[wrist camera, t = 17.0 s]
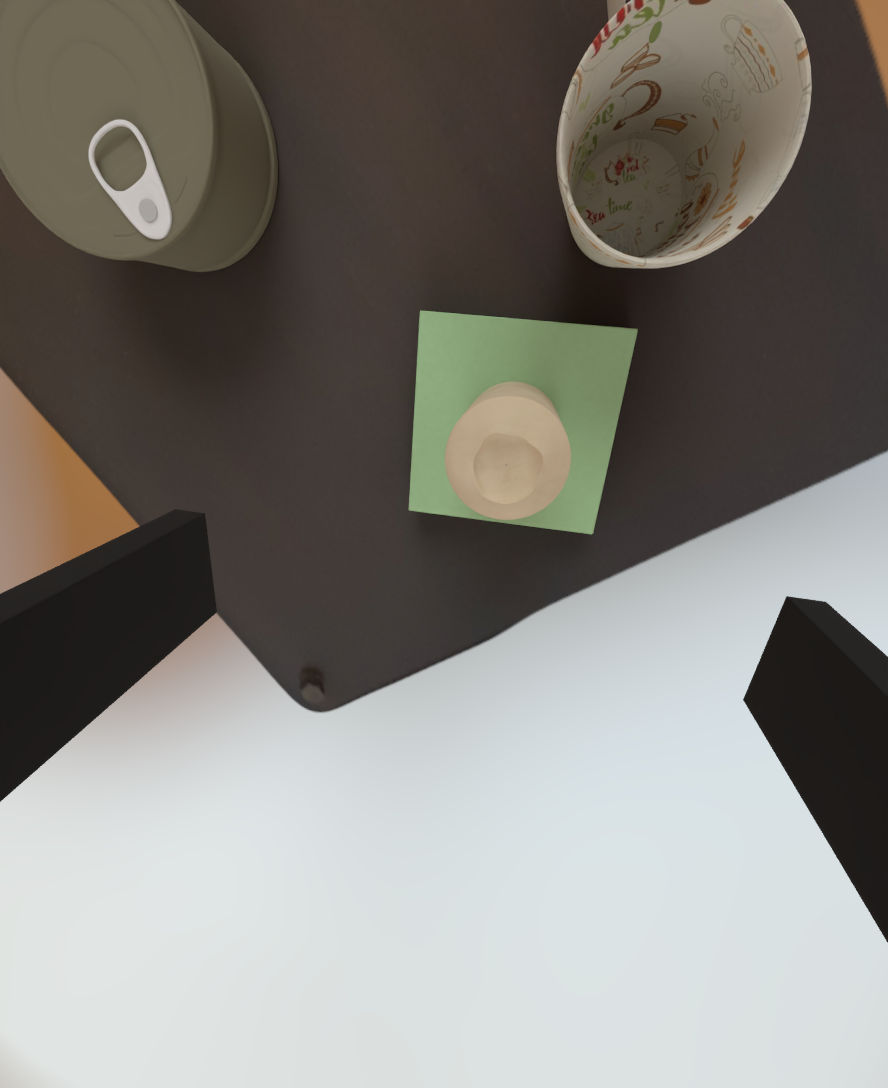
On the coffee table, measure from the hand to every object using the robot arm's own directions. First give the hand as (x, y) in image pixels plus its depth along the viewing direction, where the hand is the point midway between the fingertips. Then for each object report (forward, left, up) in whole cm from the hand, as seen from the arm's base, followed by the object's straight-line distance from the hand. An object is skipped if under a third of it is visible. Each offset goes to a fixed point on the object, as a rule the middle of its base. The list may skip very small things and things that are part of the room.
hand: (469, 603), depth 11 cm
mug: (-4, -15, -23) cm, 27 cm away
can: (+21, -14, -23) cm, 34 cm away
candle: (0, -1, -20) cm, 20 cm away
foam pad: (0, -1, -23) cm, 23 cm away
